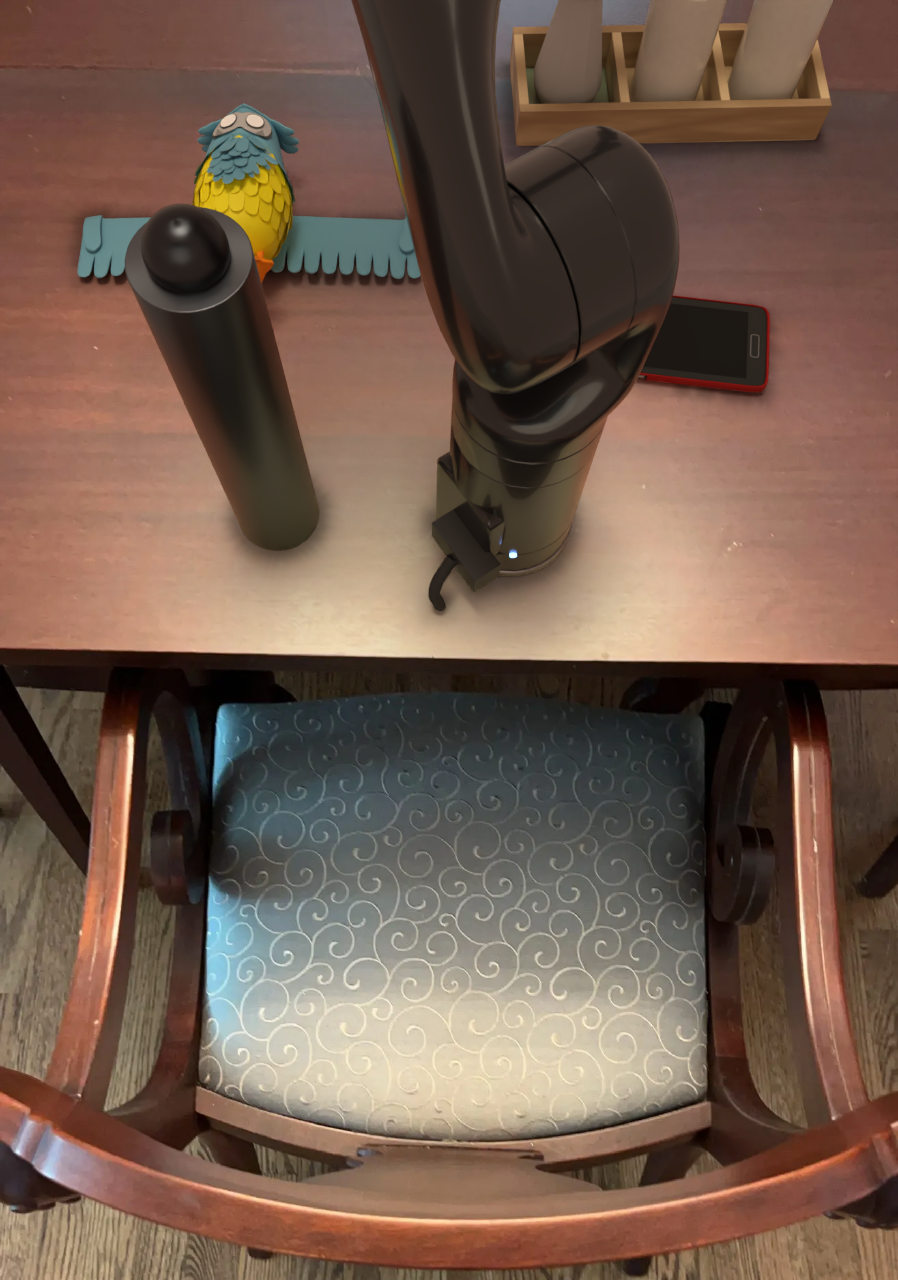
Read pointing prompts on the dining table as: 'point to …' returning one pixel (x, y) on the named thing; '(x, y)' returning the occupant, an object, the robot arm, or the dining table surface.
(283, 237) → the owl figurine
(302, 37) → the dining table surface
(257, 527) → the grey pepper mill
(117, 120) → the dining table surface
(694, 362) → the cell phone
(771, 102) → the spice rack
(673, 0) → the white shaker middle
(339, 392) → the dining table surface
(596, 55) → the salt shaker
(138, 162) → the dining table surface
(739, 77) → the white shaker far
